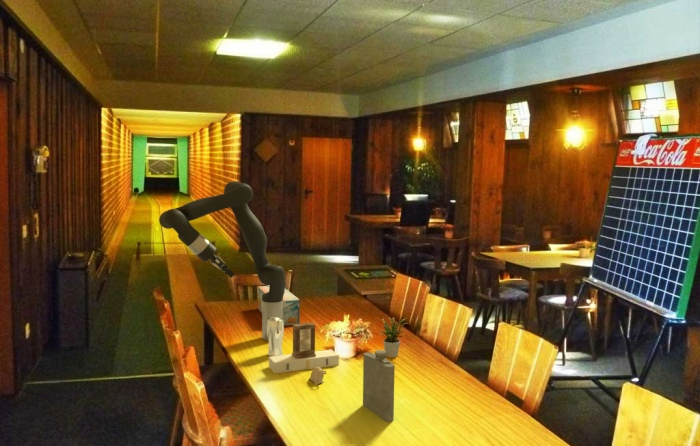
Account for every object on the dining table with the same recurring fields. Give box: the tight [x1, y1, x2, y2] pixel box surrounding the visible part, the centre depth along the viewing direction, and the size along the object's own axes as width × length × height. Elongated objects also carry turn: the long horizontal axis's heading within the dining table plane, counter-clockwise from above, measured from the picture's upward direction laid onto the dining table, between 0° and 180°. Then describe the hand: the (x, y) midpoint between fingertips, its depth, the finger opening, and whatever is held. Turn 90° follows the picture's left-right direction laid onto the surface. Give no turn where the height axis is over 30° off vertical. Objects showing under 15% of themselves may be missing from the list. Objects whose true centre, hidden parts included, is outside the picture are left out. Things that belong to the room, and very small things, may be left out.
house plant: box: [378, 316, 408, 358], centre depth 262 cm, size 14×14×16 cm
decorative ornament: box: [308, 367, 327, 386], centre depth 230 cm, size 4×8×5 cm, turn 24°
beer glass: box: [267, 317, 285, 357], centre depth 261 cm, size 7×7×15 cm
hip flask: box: [362, 349, 396, 423], centre depth 202 cm, size 16×4×20 cm, turn 29°
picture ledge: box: [268, 349, 340, 374], centre depth 247 cm, size 26×8×4 cm, turn 114°
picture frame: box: [291, 322, 316, 359], centre depth 246 cm, size 8×5×12 cm, turn 114°
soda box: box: [257, 285, 301, 327], centre depth 325 cm, size 41×14×13 cm, turn 19°
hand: (230, 274), depth 256 cm, fingers open, 8 cm apart
